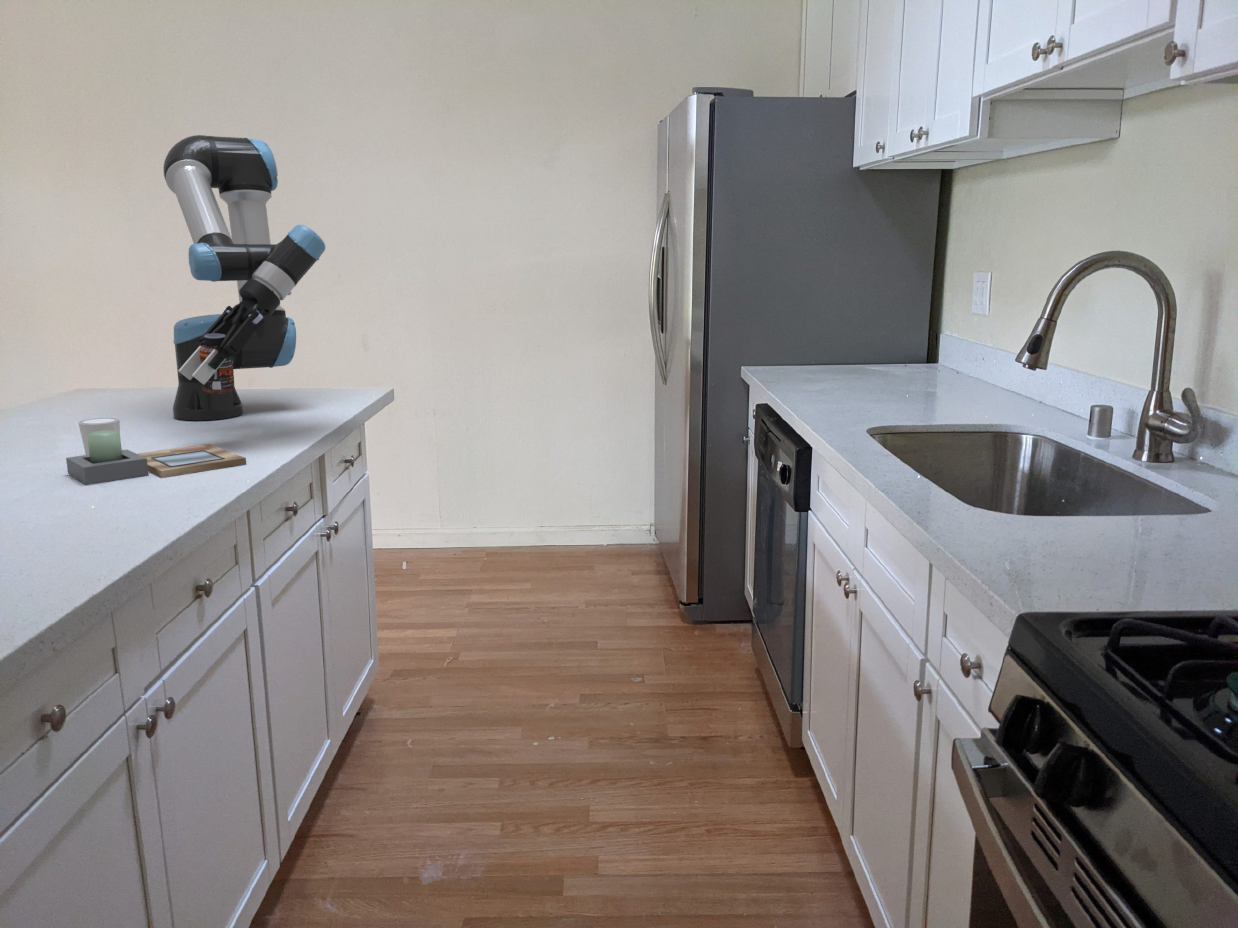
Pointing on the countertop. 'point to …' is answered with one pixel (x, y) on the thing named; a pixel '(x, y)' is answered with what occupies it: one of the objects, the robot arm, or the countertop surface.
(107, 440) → the button
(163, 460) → the board
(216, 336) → the supplement bottle
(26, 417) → the countertop surface
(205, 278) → the robot arm
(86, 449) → the shot glass
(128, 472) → the button housing
